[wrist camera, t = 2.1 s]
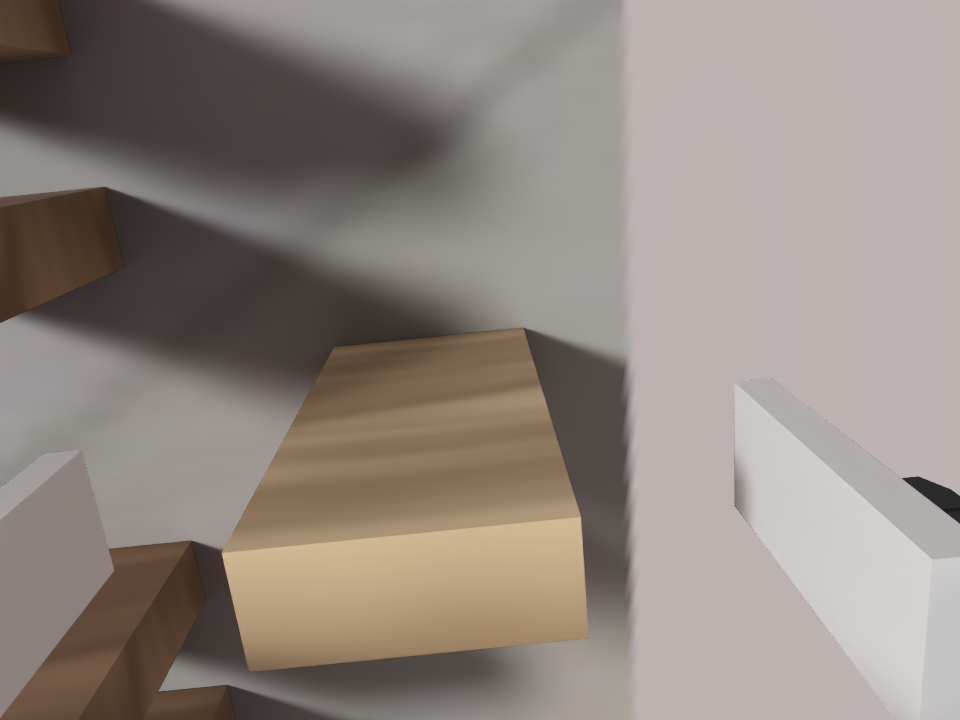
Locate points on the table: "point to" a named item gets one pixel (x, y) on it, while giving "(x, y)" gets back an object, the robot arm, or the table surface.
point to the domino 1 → (31, 30)
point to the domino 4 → (192, 704)
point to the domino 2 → (53, 246)
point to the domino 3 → (119, 640)
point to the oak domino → (412, 512)
